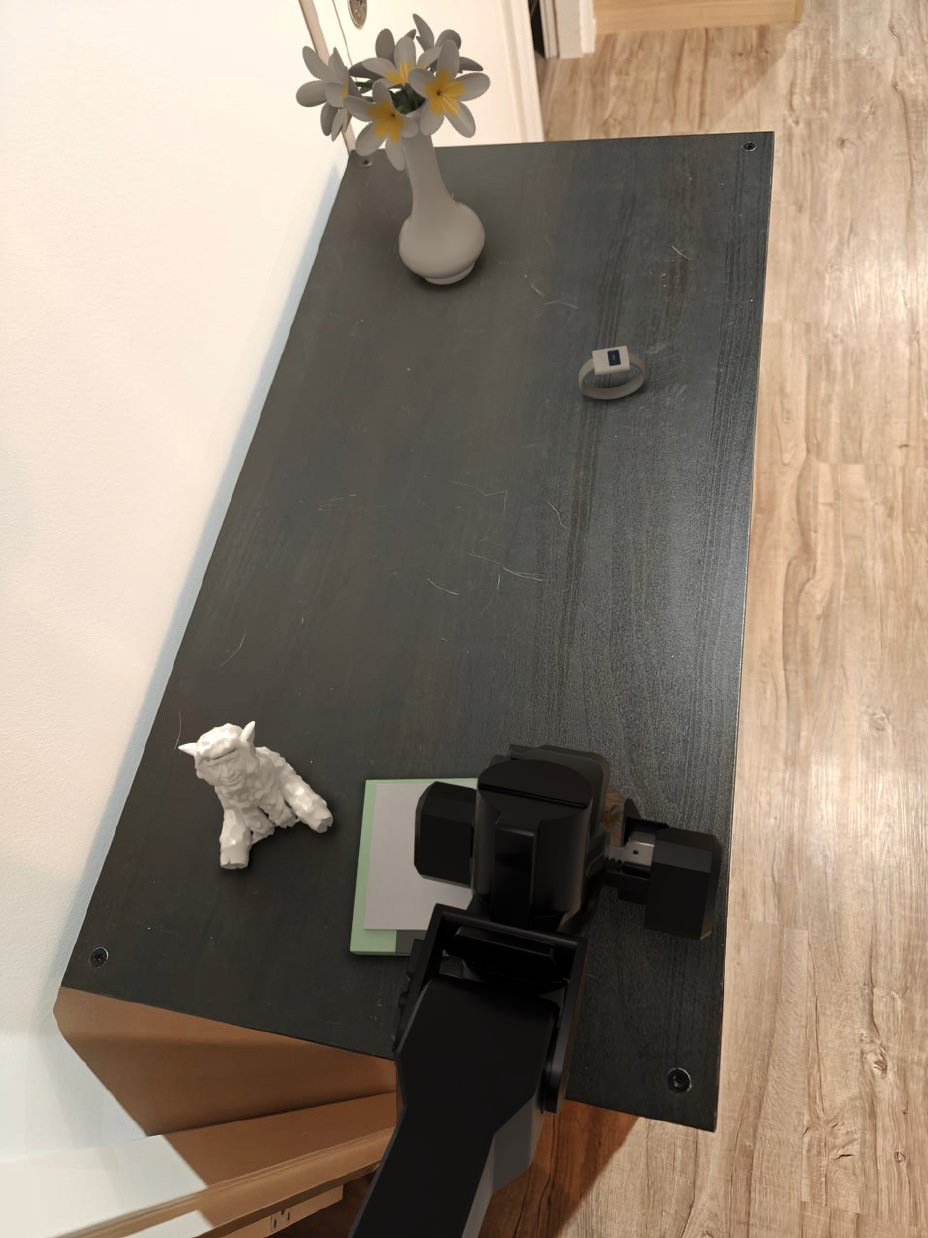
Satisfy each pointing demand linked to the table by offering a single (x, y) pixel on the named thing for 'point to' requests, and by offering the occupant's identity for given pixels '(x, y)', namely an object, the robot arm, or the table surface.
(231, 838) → the sitting furry creature
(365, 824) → the scale
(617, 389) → the wristwatch
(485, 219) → the table surface
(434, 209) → the flower vase
